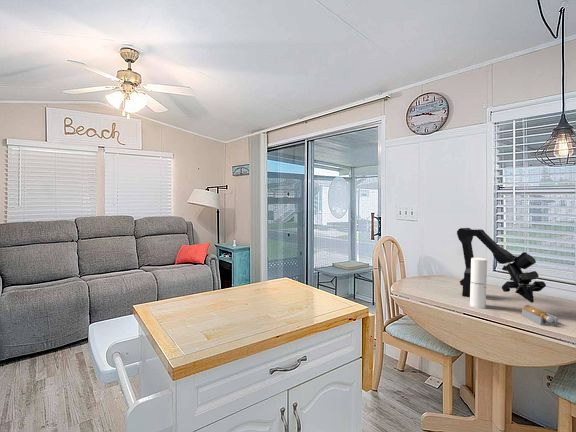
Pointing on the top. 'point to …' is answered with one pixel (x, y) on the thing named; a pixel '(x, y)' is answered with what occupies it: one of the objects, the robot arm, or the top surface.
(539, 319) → the grey cradle
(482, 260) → the cylindrical container
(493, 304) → the top surface
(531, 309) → the amber bottle
